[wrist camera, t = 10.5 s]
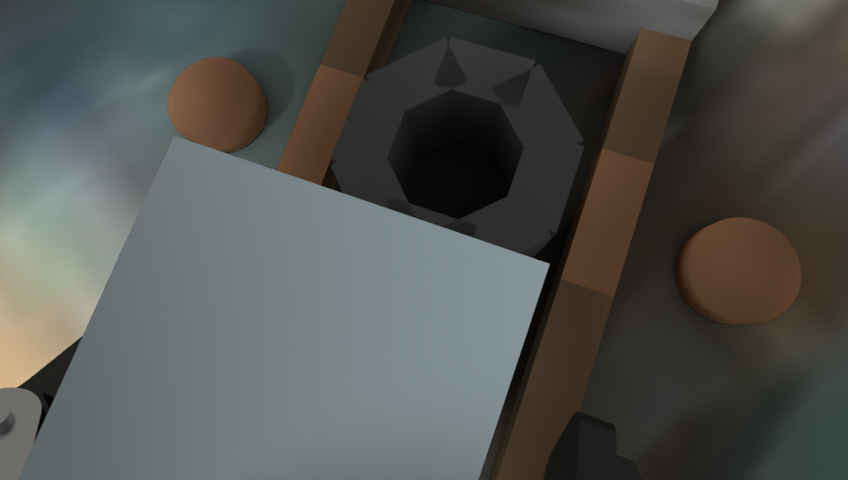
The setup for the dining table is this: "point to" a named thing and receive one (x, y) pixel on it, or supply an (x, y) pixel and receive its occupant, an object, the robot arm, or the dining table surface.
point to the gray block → (287, 339)
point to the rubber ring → (464, 138)
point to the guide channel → (598, 205)
